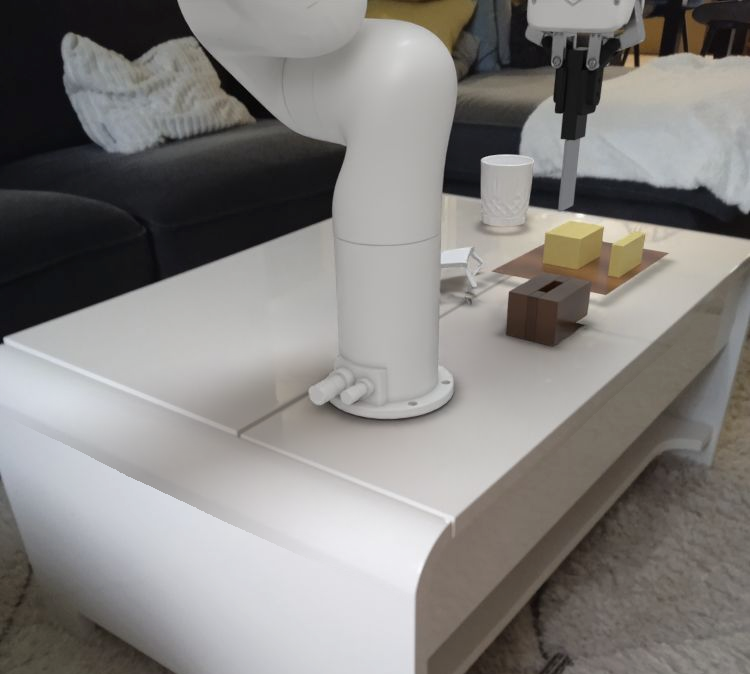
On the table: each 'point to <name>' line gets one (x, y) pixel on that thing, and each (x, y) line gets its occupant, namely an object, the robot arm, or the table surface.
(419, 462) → the table surface
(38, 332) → the table surface
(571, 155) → the knife
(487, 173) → the white cup
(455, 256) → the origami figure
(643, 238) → the butter slice
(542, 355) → the table surface
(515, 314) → the knife block
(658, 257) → the butter board
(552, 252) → the butter block
